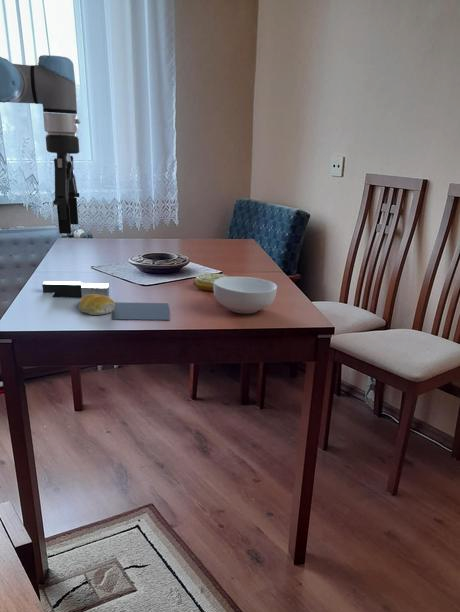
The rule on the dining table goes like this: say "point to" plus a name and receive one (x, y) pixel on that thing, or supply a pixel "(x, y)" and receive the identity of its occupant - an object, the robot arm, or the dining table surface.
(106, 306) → the bread roll
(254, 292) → the cereal bowl
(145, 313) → the placemat
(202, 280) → the decorated donut
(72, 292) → the black and grey bar
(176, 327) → the dining table surface
